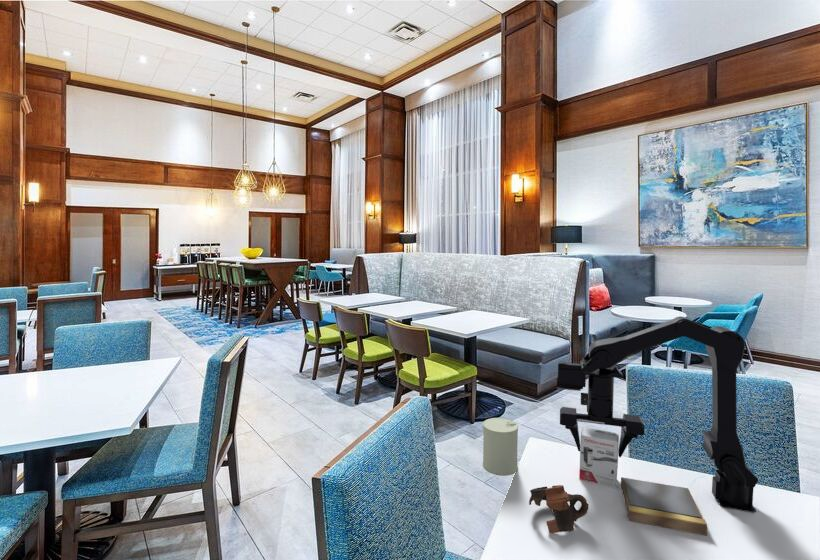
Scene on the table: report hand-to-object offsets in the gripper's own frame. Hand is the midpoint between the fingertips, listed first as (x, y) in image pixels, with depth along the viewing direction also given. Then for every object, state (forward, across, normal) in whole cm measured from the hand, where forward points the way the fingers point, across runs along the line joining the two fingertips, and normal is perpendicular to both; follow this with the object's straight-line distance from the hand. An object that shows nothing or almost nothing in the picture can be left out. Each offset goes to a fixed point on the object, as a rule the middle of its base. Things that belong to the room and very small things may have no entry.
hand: (599, 453), depth 104 cm
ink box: (+7, 0, 0) cm, 7 cm away
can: (+7, +24, +2) cm, 25 cm away
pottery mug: (+7, +9, +20) cm, 23 cm away
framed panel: (+7, -12, +8) cm, 16 cm away
